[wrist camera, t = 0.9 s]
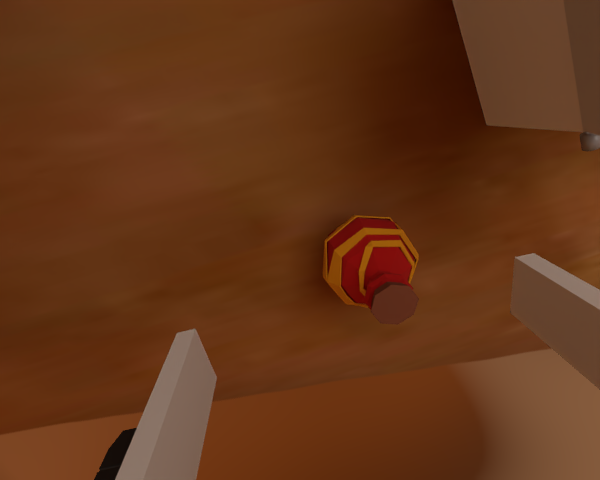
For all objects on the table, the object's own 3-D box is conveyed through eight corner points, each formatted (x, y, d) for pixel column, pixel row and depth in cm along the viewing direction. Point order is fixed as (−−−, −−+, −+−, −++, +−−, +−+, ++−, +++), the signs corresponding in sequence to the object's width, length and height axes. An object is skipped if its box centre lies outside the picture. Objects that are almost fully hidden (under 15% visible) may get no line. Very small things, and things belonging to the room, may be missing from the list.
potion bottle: (304, 212, 38) (321, 270, 24) (386, 189, 38) (450, 235, 24) (323, 283, 42) (347, 366, 29) (397, 263, 42) (458, 337, 28)
